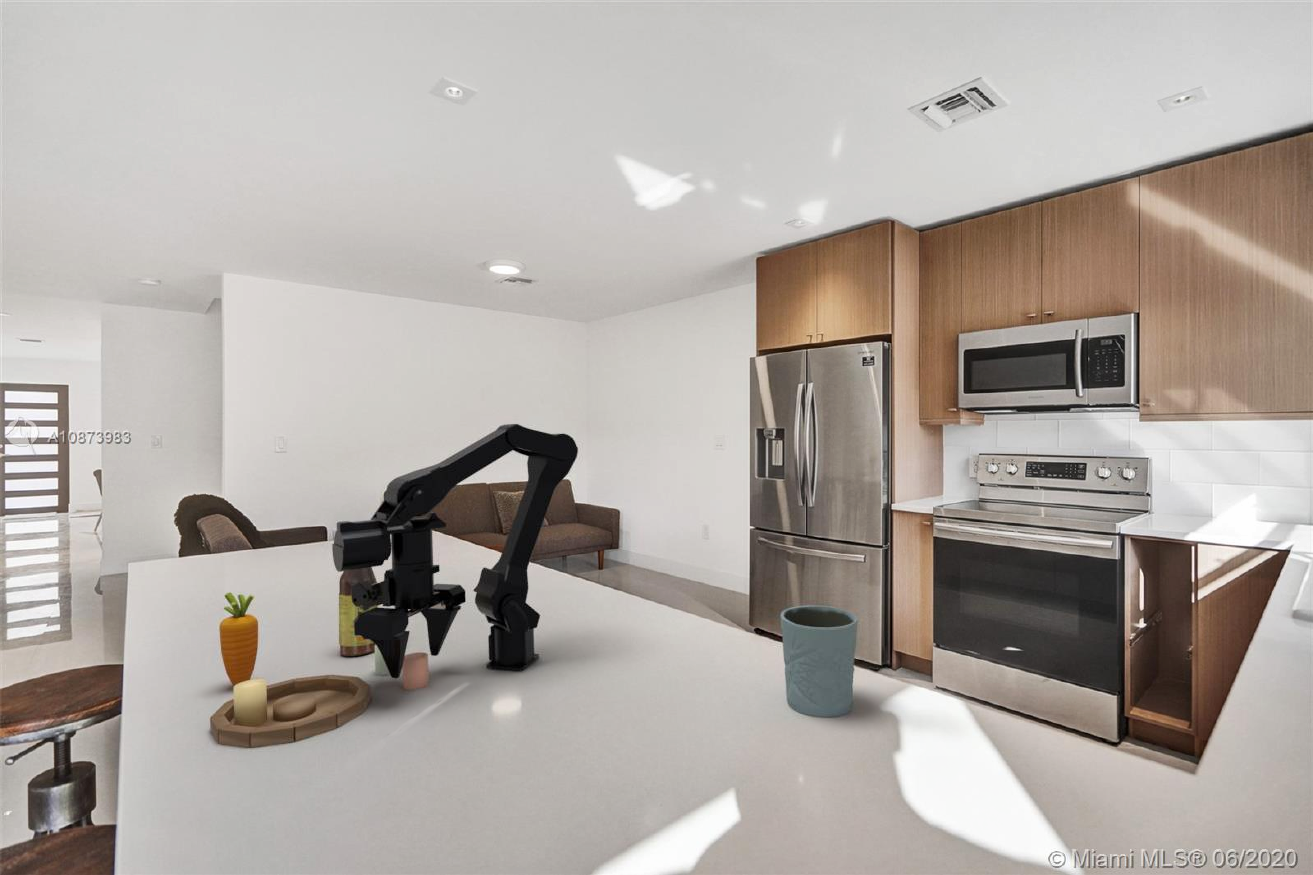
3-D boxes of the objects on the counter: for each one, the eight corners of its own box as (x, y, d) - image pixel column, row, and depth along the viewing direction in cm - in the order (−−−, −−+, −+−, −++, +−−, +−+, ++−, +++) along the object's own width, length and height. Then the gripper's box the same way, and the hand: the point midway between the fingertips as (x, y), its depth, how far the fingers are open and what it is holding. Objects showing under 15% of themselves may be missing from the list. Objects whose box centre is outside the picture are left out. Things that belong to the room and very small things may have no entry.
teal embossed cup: (808, 683, 92) (806, 601, 92) (874, 703, 85) (871, 613, 85) (767, 705, 85) (765, 616, 85) (835, 728, 78) (832, 631, 78)
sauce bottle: (363, 658, 108) (359, 542, 108) (331, 657, 109) (327, 542, 109) (386, 646, 115) (383, 536, 115) (356, 644, 116) (353, 536, 116)
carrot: (267, 688, 96) (264, 589, 96) (234, 701, 92) (231, 597, 92) (246, 683, 98) (244, 586, 98) (213, 695, 94) (210, 594, 94)
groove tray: (396, 697, 91) (396, 680, 91) (294, 760, 74) (294, 739, 74) (295, 687, 96) (294, 671, 96) (177, 744, 79) (176, 724, 79)
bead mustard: (274, 717, 84) (272, 680, 84) (249, 730, 80) (248, 690, 80) (252, 715, 85) (251, 678, 85) (227, 727, 81) (226, 688, 81)
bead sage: (405, 672, 101) (404, 641, 101) (390, 681, 98) (389, 649, 98) (386, 671, 102) (385, 640, 102) (370, 679, 99) (369, 647, 99)
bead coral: (433, 686, 95) (432, 653, 95) (418, 696, 92) (417, 661, 92) (413, 684, 96) (412, 651, 96) (397, 694, 93) (396, 660, 93)
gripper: (406, 548, 105) (409, 642, 105) (318, 573, 87) (322, 686, 87) (466, 549, 102) (468, 646, 102) (388, 575, 84) (391, 693, 84)
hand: (415, 666), depth 94 cm, fingers open, 9 cm apart
